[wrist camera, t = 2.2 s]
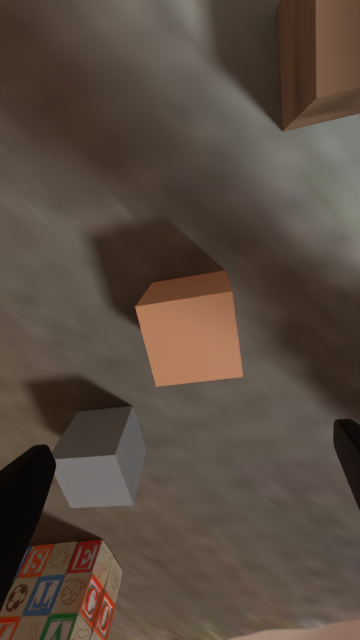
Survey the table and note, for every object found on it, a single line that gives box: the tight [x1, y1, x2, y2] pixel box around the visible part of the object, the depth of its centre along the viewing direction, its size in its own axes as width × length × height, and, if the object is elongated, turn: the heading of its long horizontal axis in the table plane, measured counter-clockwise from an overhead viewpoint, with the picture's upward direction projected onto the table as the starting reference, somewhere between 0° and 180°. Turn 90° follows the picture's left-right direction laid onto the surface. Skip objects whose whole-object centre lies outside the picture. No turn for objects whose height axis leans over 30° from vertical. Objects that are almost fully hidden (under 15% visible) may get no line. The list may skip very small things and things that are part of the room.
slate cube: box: [52, 406, 147, 508], centre depth 22 cm, size 5×5×5 cm
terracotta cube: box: [135, 270, 243, 387], centre depth 17 cm, size 5×5×5 cm
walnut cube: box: [277, 0, 360, 131], centre depth 11 cm, size 5×5×5 cm
